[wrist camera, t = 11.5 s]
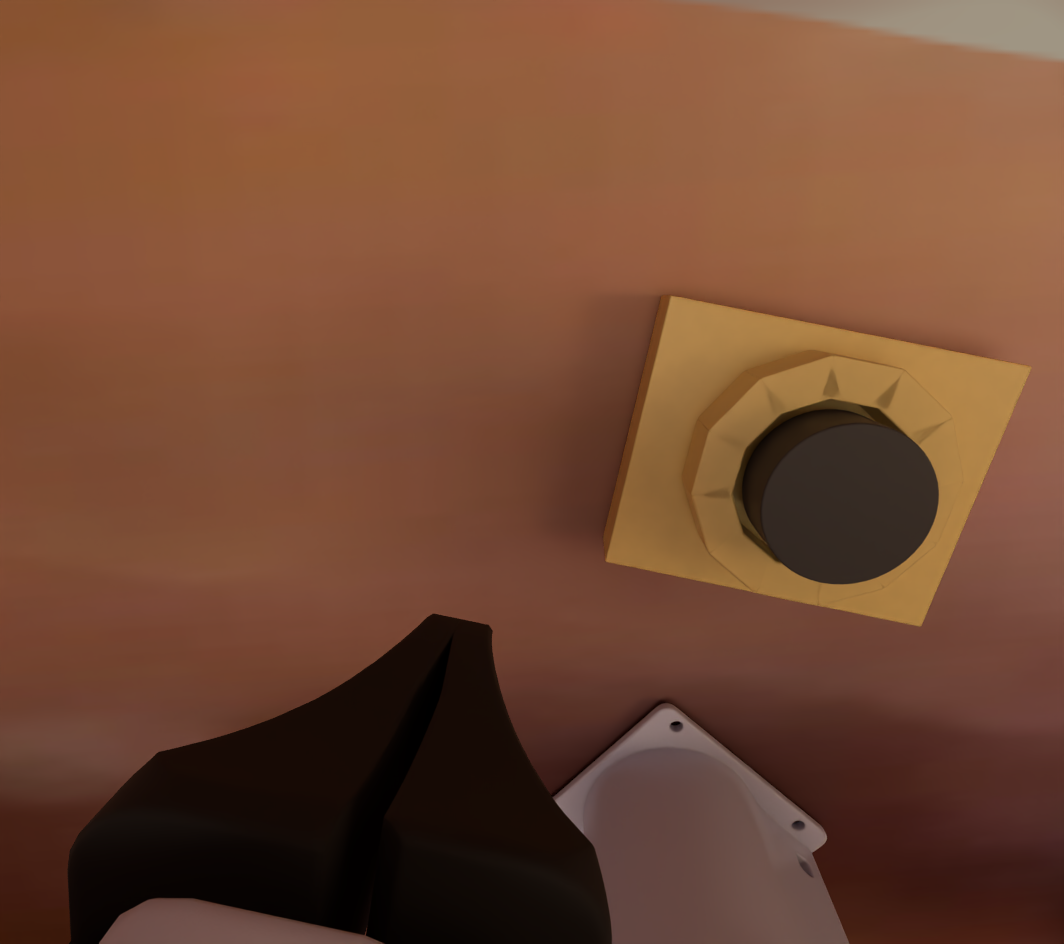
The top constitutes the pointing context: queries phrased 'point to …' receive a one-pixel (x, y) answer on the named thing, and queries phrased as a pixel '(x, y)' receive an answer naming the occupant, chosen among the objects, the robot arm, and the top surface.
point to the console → (763, 404)
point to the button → (840, 496)
